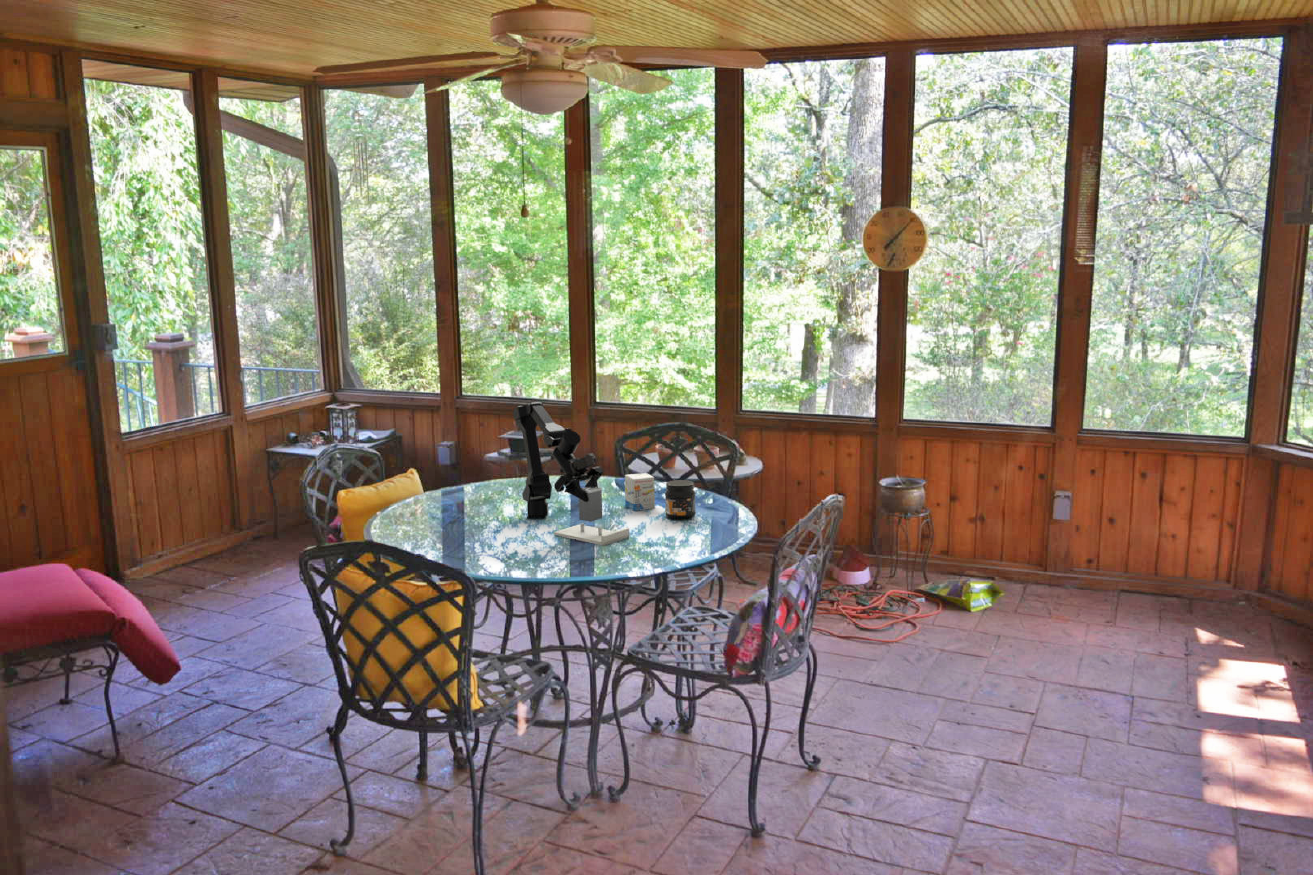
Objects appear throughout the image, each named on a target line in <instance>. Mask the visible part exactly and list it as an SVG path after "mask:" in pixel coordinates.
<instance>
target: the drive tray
mask: <svg viewBox="0 0 1313 875" xmlns="http://www.w3.org/2000/svg"><path fill="white" fill-rule="evenodd" d="M553 535H554V536H556V535H559V536H558V537H561V536H562V538H568V539H571V540H575V539H576V540H577V541H581V542H584V543H585V542H586V543H591V544H595V545H599V546H603V547H604V546H607V545H608V546H609V545H611V544H614V543H616V542H619V541H623V540H625V539H628V538H630V528H629V527H625V528H621V529H618V530H615V531H614V530H608V529H604V528H603V526H598V527H594V526H589V525H585V523H580V524H576V525H573V526H569V527H567V528H563V529H559V530H556V531H554V532H553Z"/></svg>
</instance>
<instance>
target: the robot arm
mask: <svg viewBox="0 0 1313 875" xmlns="http://www.w3.org/2000/svg"><path fill="white" fill-rule="evenodd" d="M512 417H513V419H514V421H515V425H516V427H517V428H518V429H519V430H520V431H521V432H522V438H523V446H524V451H525V456H526V457H525V458H526V462H527V468H528V474H527V476H526V480H525V487H524V488H523V491H522V500H523V501H525V502H526V503H527V516H526V519H546V518H547V517H548V515H549V503H548V502H547V500H550V499H551V497H552V490H553V489H554V490H555V491H556V492H557V493H560V492H564V493H567V494H570V495H572V496H574V497H576V498H577V499H578V500H579V499H581V500H583V501H585V502H587V501H588V498H587V496H586V495H585V493H584V491H583V490H582V488H583V487H582V486H581V485H580V484H581V483H580V482H583V481H584V482H585V484H584V488H585V487H589V486H592V487H598V488H599V484H598V480H600V478H601V477H602V476H603V474H604V473H605V470H604V469H603V467H602V466H595V465H596V464H595V463H596V462H597V458H596V456H595V455H594V453H593V452H591V453H588V454H585V456H584V457H581V458H579V457H575V455H574V453H575V452H576V450H577V447H578V446H579V444H580V442H581V436H580V434H578V432H576V431H574V430H572V428H571V427H567V428H564V427H563V426H562V425H559V424H558V423H555V421H554V420H553V419H552V417H551V416H550V415H549V413H548V412H547V410H546V409H545V408H544V404H543V403H542V402H540V401H536V402H529V403H527V404H525V405H519V406H518V405H517V406H516V407H515V409H514V410H512ZM537 427H539V428H540V430H541V431H542V434H543V435H542V436H543V437H542V440H543V442H544V444H545V445H546V447H547V448H554V449H553V450H552V451H551V452H550V453H551V454H550V459H551V461H553V460H555V462H556V463H557V464H558V466H559V467H560V470H559V471H560V473H561V474H562V475H560V476H559V478H557V480H556V481H555V483H554V484H553V485H554V488H553V486H552V483H551V481H550V480H551V479H550V474H549V473H546V472H545V471H544V468H543V466H542V459H541V453H540V447H539V446H540V445H539V441H538V435H537ZM592 466H595V467H592ZM589 467H591V468H590V469H589ZM588 470H589V471H588ZM586 472H587V473H586Z"/></svg>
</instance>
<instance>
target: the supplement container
mask: <svg viewBox="0 0 1313 875" xmlns="http://www.w3.org/2000/svg"><path fill="white" fill-rule="evenodd" d="M665 486H666V487H665V488H666V490H665V492H664V496H665V500H664V501H665V503H664V504H665V512H664V514H665V516H666V517H667V518H668V519H670V520H674V519H675V520H676V521H684V520H685V519H686V520H690V519H692V518H694V517H695V516H696V515H697V513H696V491H695V490H694V489H695V483H694V481H691V480H685V479H678V480H677V479H675V480H670V481H666V485H665ZM686 520H685V521H686Z"/></svg>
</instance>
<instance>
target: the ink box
mask: <svg viewBox="0 0 1313 875" xmlns="http://www.w3.org/2000/svg"><path fill="white" fill-rule="evenodd" d="M655 489H656V488H655V476H653V475H651V474H650V473H648V472H645V473H643V472H642V473H631V474H624V504H625V505H624V507H626V508H627V509H629V510H631V511H633V512H636V511H643V509H645V510H652V509H656V498H655Z"/></svg>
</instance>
